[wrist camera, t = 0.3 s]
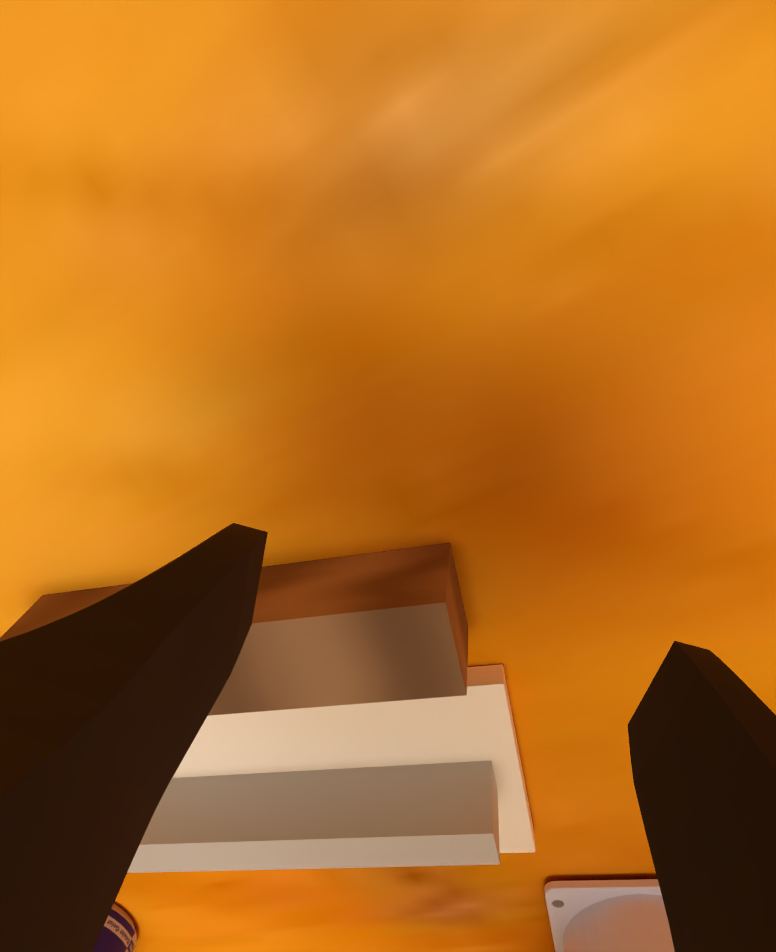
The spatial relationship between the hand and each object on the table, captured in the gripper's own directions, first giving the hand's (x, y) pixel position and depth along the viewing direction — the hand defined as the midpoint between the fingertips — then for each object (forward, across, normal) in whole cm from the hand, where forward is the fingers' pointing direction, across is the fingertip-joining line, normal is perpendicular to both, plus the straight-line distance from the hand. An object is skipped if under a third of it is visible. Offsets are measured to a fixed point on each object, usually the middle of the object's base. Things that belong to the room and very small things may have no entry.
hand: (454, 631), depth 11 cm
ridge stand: (+10, +2, +16) cm, 19 cm away
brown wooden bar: (+10, +6, +9) cm, 15 cm away
